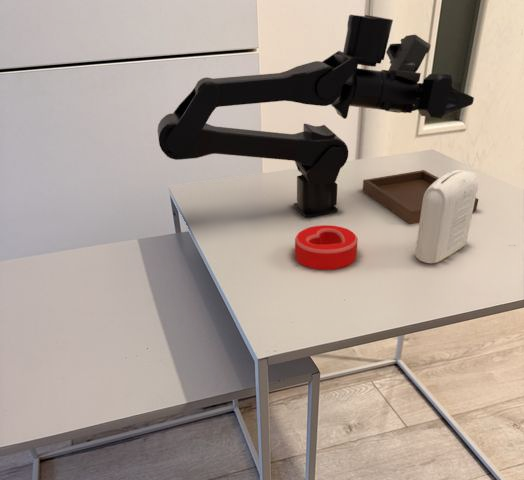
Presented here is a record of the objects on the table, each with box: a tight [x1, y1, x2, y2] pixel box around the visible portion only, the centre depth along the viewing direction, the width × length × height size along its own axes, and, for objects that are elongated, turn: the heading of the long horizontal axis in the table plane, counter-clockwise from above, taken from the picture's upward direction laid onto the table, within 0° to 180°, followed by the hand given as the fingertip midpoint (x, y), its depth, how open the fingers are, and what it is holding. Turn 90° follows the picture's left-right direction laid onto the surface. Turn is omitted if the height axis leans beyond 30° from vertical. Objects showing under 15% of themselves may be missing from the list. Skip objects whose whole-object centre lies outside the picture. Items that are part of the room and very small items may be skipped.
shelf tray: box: [362, 169, 479, 225], centre depth 101 cm, size 14×18×2 cm
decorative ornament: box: [294, 224, 359, 271], centre depth 84 cm, size 10×10×3 cm
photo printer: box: [414, 169, 479, 264], centre depth 81 cm, size 10×4×12 cm, turn 134°
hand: (458, 99), depth 93 cm, fingers open, 9 cm apart
